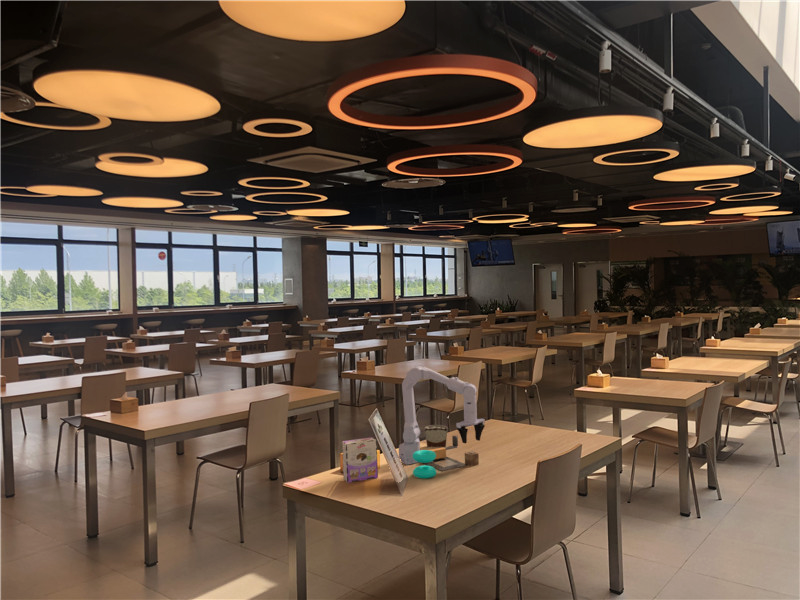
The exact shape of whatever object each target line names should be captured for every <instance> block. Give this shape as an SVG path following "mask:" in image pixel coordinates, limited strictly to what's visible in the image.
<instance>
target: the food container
mask: <svg viewBox="0 0 800 600" xmlns="http://www.w3.org/2000/svg"><path fill="white" fill-rule="evenodd" d="M423 432H424V435H425V440H426V448H442V447H443V448H445V447H447V439H448V438H447V436H448V435H447V434H448V432H449V428H448V426H446V425H443V424H431V425H426V426H424V428H423Z"/></svg>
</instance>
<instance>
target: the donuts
mask: <svg viewBox="0 0 800 600" xmlns="http://www.w3.org/2000/svg"><path fill="white" fill-rule="evenodd" d="M430 450H431V449H428V450H427V449H420V450H419V451H416V452H414V453H413V459H414V460H415V461H417V462H418V463H422V464H424V463H427V462H431V461H433V460H434V459H435V458H436V454H435V452H433V451H430ZM412 474H413V476H414V477H415V478H416V479H417V478H418V479H424V480H425V479H426V480H427V479H433V478H434V477H435V476H436V475H437V469H435V468H434V467H432V466H428V465H426V464H424V465H418V466H416V467H415V468H414V469H413V471H412Z"/></svg>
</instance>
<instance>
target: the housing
mask: <svg viewBox="0 0 800 600" xmlns="http://www.w3.org/2000/svg"><path fill="white" fill-rule="evenodd" d="M479 463H480V461H479V453H478V452H476V451H467V452H464V464H467V465H468V466H470V467H474V466H479V465H480V464H479Z"/></svg>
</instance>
